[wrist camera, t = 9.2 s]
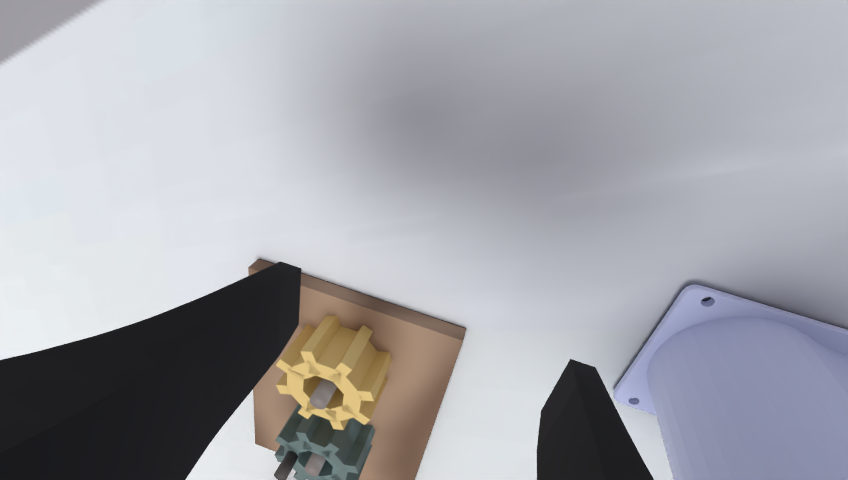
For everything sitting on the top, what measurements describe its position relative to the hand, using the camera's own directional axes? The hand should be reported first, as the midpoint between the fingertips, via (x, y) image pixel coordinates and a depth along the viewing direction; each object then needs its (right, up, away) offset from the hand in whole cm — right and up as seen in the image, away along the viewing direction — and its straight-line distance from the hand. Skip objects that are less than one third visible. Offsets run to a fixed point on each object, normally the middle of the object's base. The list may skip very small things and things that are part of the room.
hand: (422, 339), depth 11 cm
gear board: (-6, -8, +18) cm, 20 cm away
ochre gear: (-5, -4, +14) cm, 16 cm away
